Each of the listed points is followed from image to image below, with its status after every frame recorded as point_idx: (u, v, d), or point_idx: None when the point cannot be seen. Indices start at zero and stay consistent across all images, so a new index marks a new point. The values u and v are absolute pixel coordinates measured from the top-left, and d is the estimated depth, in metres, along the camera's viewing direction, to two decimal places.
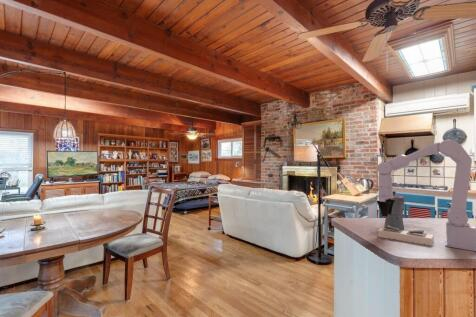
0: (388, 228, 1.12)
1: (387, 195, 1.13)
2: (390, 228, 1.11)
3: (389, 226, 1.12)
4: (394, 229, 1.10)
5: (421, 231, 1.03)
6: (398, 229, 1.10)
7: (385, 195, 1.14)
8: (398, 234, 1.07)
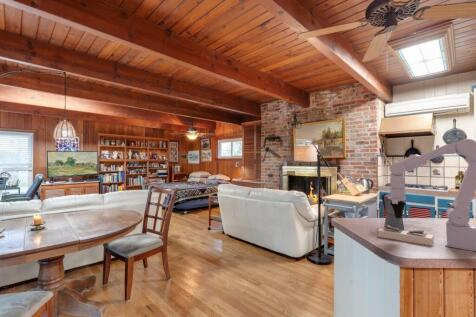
0: (388, 228, 1.12)
1: (400, 197, 1.08)
2: (390, 228, 1.11)
3: (389, 226, 1.12)
4: (394, 229, 1.10)
5: (421, 231, 1.03)
6: (398, 229, 1.10)
7: (397, 197, 1.08)
8: (398, 234, 1.07)
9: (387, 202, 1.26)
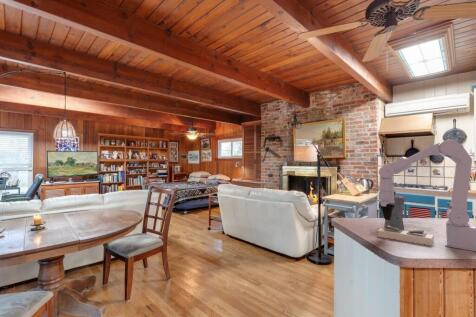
0: (388, 228, 1.12)
1: (388, 200, 1.11)
2: (390, 228, 1.11)
3: (389, 226, 1.12)
4: (394, 229, 1.10)
5: (421, 231, 1.03)
6: (398, 229, 1.10)
7: (386, 199, 1.11)
8: (398, 234, 1.07)
9: None
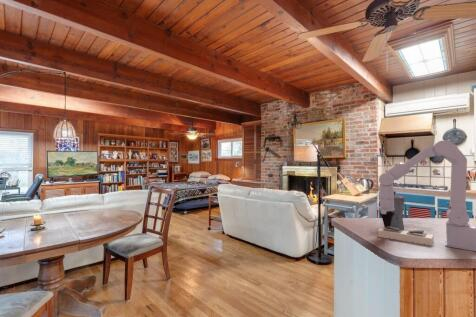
0: (388, 228, 1.12)
1: (388, 207, 1.11)
2: (390, 228, 1.11)
3: None
4: (394, 229, 1.10)
5: (421, 231, 1.03)
6: (398, 229, 1.10)
7: (386, 207, 1.11)
8: (398, 234, 1.07)
9: None
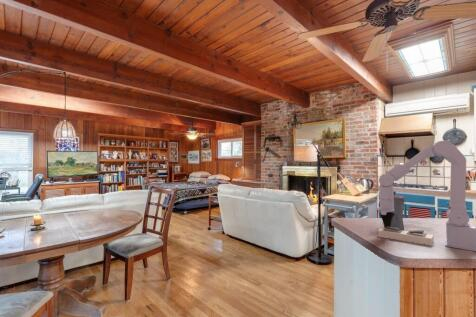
0: (388, 228, 1.12)
1: (388, 208, 1.11)
2: (390, 228, 1.11)
3: None
4: (394, 229, 1.10)
5: (421, 231, 1.03)
6: (398, 228, 1.10)
7: (386, 208, 1.11)
8: (398, 234, 1.07)
9: None
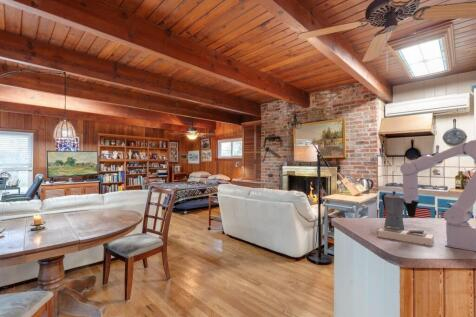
0: None
1: (413, 197, 1.10)
2: (390, 228, 1.11)
3: (389, 227, 1.12)
4: (394, 229, 1.10)
5: (421, 231, 1.03)
6: (398, 228, 1.10)
7: (410, 196, 1.11)
8: (398, 234, 1.07)
9: (387, 202, 1.26)
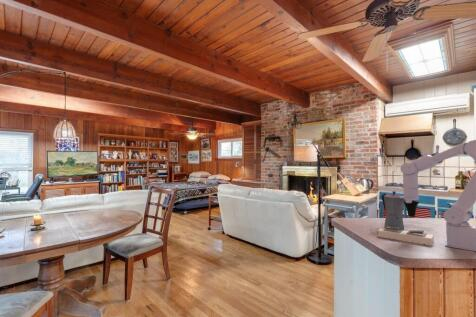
0: None
1: (413, 197, 1.10)
2: (390, 228, 1.11)
3: (389, 227, 1.12)
4: (394, 228, 1.10)
5: (421, 231, 1.03)
6: (398, 228, 1.10)
7: (411, 196, 1.11)
8: (398, 234, 1.07)
9: (387, 202, 1.26)
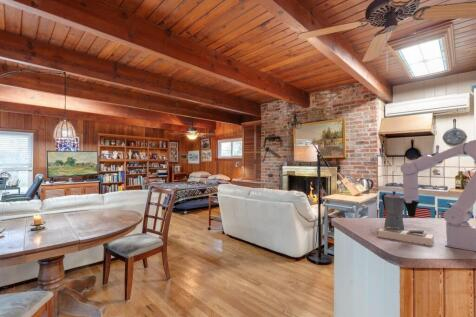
0: (388, 229, 1.12)
1: (413, 197, 1.10)
2: (390, 228, 1.11)
3: (389, 227, 1.12)
4: (394, 228, 1.10)
5: (421, 231, 1.03)
6: (398, 227, 1.10)
7: (411, 196, 1.11)
8: (398, 234, 1.07)
9: (387, 202, 1.26)
